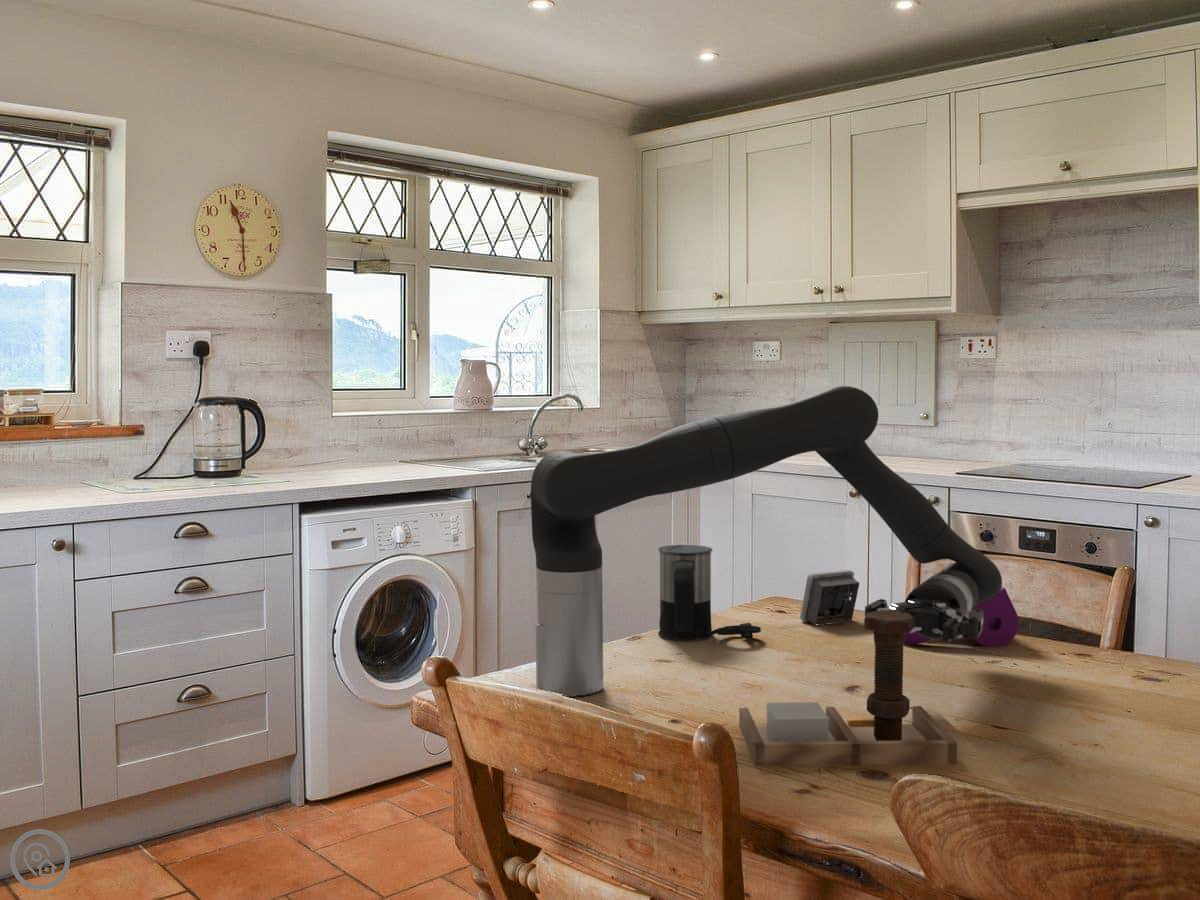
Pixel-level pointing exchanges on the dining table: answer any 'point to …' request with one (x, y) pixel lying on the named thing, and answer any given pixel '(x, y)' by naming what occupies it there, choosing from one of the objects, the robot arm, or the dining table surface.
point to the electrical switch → (829, 597)
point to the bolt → (888, 672)
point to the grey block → (796, 722)
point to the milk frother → (689, 595)
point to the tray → (853, 743)
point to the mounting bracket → (988, 623)
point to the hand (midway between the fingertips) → (910, 630)
